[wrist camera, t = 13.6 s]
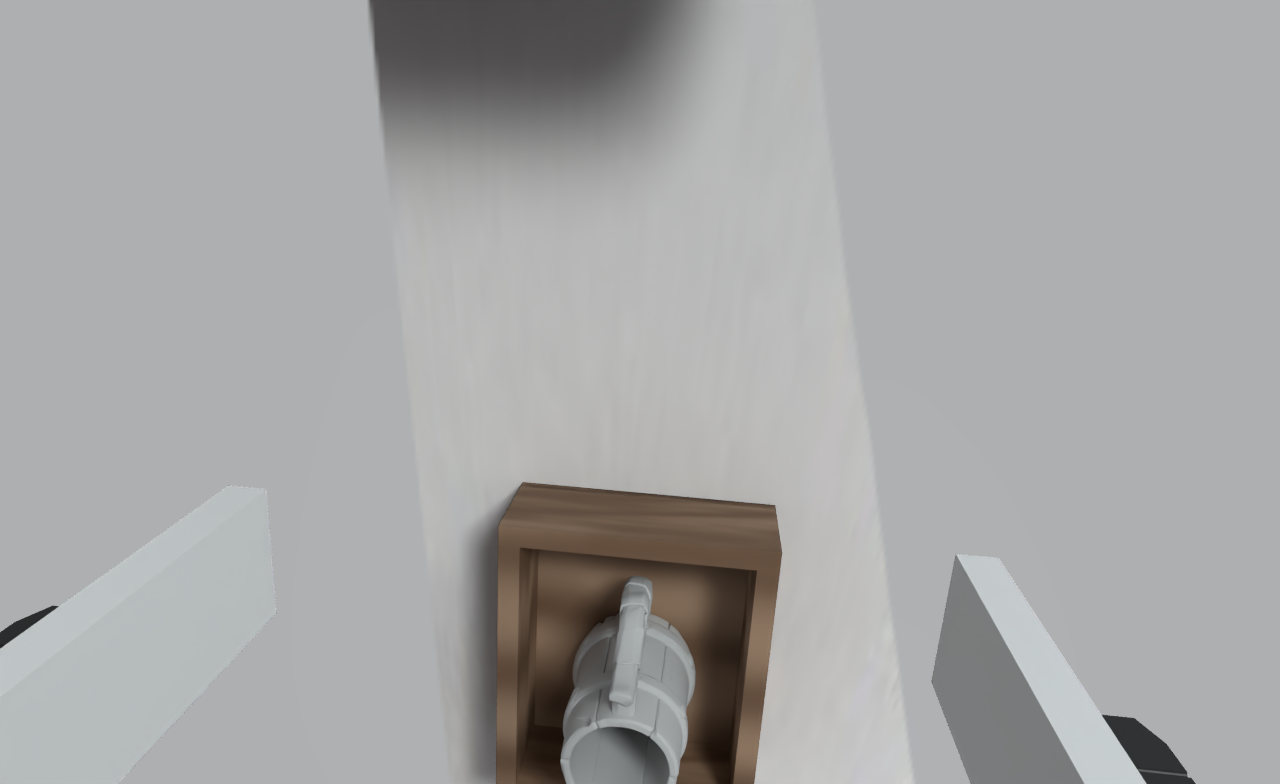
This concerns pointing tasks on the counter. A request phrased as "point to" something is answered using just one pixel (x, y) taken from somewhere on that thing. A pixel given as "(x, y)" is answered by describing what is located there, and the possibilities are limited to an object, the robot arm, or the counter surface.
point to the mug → (629, 698)
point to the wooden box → (592, 590)
